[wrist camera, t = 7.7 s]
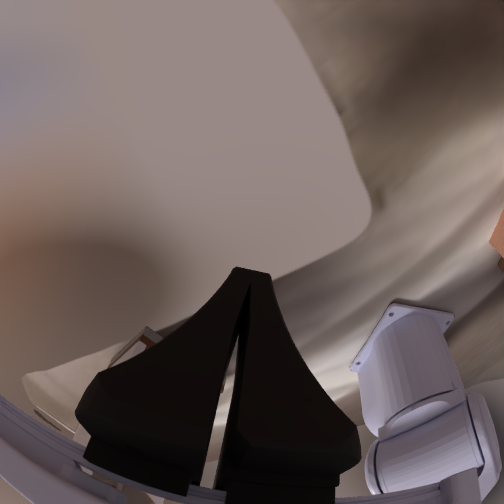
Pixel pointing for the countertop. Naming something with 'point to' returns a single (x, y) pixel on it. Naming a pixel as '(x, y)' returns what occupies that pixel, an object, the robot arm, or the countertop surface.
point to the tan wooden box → (501, 264)
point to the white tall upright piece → (136, 499)
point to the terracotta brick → (498, 236)
